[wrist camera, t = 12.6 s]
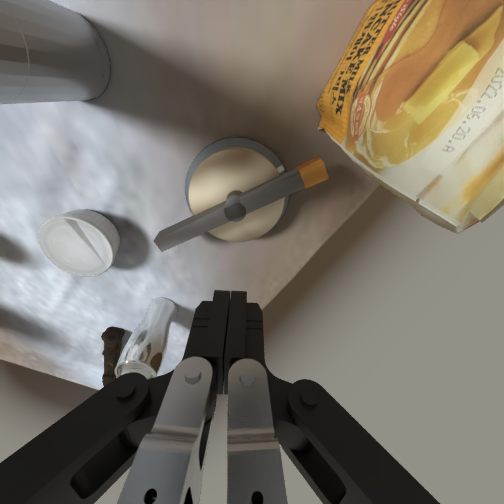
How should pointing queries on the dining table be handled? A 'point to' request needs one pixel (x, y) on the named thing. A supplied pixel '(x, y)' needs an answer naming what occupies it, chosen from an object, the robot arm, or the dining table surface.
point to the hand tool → (111, 352)
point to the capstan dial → (238, 196)
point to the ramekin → (80, 242)
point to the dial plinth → (235, 143)
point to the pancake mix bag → (425, 105)
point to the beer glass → (148, 340)
